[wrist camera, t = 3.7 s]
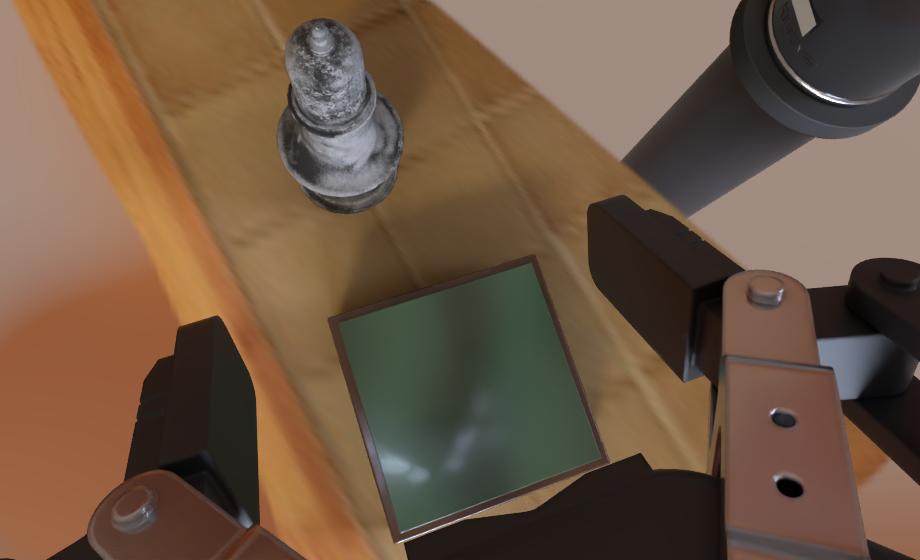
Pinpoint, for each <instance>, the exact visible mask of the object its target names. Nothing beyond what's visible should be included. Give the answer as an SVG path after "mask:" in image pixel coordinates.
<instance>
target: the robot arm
mask: <svg viewBox="0 0 920 560" xmlns="http://www.w3.org/2000/svg"><path fill="white" fill-rule="evenodd" d="M764 36H765V41H766V45H767V48H768V51H769V53H770V56H771V58H772V60H773V62H774V63H775V65H776V67H777V68H778V70H779V71H780V72H781V74H782V75H783V76H784V77H785V78H786V79H787V80H788V81H789V82H790V83H791V84H792V85H793V86H794V87H795V88H796V89H798V90H799V91H800V92H802V93H803V94H805V95H806V96H808V97H810V98H812V99H814V100H816V101H818V102H821V103H823V104H826V105H830V106H834V107H840V108H858V107H864V106H868V105H871V104H874V103H876V102H878V101H880V100H881V99H883V98H885V97H886V96H888V95H889V94H891V93H893V92H894V91H895V90H896V89H898V88H899V87H900V86H901V85H902V84H904V83H905V82H907V81H909V80H910V79H912V78H913V77H915V76H917V75H918V74H920V0H770V1H769V3H768V5H767V8H766V11H765V16H764ZM587 227H588V259H589V269H590V273H591V276H592V278H593V281H594V283H595V284H596V286H597V288H598V289H599V290H600V291H601V292H602V293H603V295H604V296H605V297H606V298H607V299H608V300H609V301H610V302H611V303H612V304H613V306H614V307H615V308H616V309H617V310H618V311H619V312H620V313H621V314H622V315H623V317H624V318H625V319H626V320H627V321H628V322H629V323H630V324H631V325H632V326H633V328H634V329H635V330H636V331H637V332H638V333H639V334H640V335H641V336H642V337H643V339H644V340H645V341H646V342H647V343H648V344H649V345H650V346H651V347H652V348H653V350H654V351H655V352H656V353H657V354H658V355H659V356H660V357H661V358H662V359H663V361H664V362H665V363H666V364H667V365H668V366H669V367H670V368H671V369H672V370H673V372H674V373H675V374H676V375H677V376H678V377H679V378H680V379H681V380H682V381H683V383H685V382H687V381H690V380H693V379H696V378H698V377H701V376H704V375H705V376H706V377H707V378H708V379H709V380H710V381H711V383H710V391H709V412H708V442H707V468H706V474H705V473H700V472H695V471H689V470H679V469H657V470H653V469H652V468H651V467H650V465H649V464H648V462H647V461H646V460H645V458H644V457H643V455H642V454H641V453H639V454H636V455H634V456H631V457H628V458H626V459H623V460H621V461H618V462H615V463H613V464H610V465H607V466H605V467H602V468H599V469H597V470H594V471H592V472H589V473H586V474H584V475H583V476H582V477H580V478H579V479H577V480H576V481H575V482H573V483H572V484H570V485H569V486H568V487H566V488H565V489H563V490H562V491H561V492H559V493H558V494H556V495H555V496H553V497H552V498H551V499H549V500H548V501H546V502H545V503H544V504H542V505H541V506H539V507H538V508H536V509H534V510H531V511H527V512H521V513H513V514H505V515H497V516H489V517H482V518H474V519H466V520H463V521H460V522H458V523H455V524H452V525H450V526H447V527H444V528H442V529H439V530H436V531H434V532H431V533H429V534H426V535H423V536H421V537H418V538H415V539H413V540H410V541H408V542H405V543H404V546H405V550H406V554H407V558H408V560H915V559H913V558H910V557H908V556H906V555H903V554H901V553H899V552H896V551H894V550H891V549H889V548H887V547H884V546H882V545H880V544H877V543H875V542H872V541H870V540H868V539H866V535H865V530H864V524H863V519H862V514H861V509H860V503H859V498H858V492H857V487H856V481H855V476H854V471H853V465H852V460H851V455H850V449H849V444H848V438H847V433H846V428H845V422H844V417H843V414H844V415H845V416H846V417H847V418H848V419H849V420H851V421H852V422H853V423H854V424H855V425H856V426H857V427H858V428H859V429H860V430H861V431H862V432H863V433H864V434H865V435H866V436H867V437H869V438H870V439H871V440H872V441H873V442H874V443H875V444H876V445H877V446H878V447H879V448H880V449H881V450H882V451H883V452H884V453H885V454H887V455H888V456H889V457H890V458H891V459H892V460H893V461H894V462H895V463H896V464H897V465H898V466H899V467H900V468H901V469H902V470H903V471H905V472H906V473H907V474H908V475H909V476H910V477H911V478H912V479H913V480H914V481H915V482H916V483H917V484H918V485H920V380H919V379H918V378H916V377H915V376H914V372H915V370H916V367H917V365H918V363H919V362H920V264H918V263H915V262H911V261H907V260H903V259H896V258H874V259H869V260H865V261H863V262H860V263H859V264H857V265H856V266H855V267H854V268H853V270H852V272H851V276H850V279H849V282H848V285H845V286H833V287H822V288H811V289H806V288H805V287H804V286H803V284H801V283H800V282H799V281H797V280H796V279H794V278H792V277H790V276H788V275H785V274H782V273H779V272H775V271H769V270H748V271H745V270H744V269H743V268H741V267H740V266H739V265H737V264H736V263H734V262H733V261H732V260H730V259H729V258H728V257H726V256H725V255H724V254H722V253H721V252H720V251H718V250H717V249H716V248H714V247H713V246H712V245H710V244H709V243H708V242H706V241H705V240H704V241H702V239H701V237H700V236H698V235H697V234H695V233H694V232H693V231H689V228H687V227H686V226H685V225H683V224H682V223H681V222H679V221H678V220H677V219H675V218H674V217H672V216H669V215H667V214H664V213H661V212H658V211H655V210H652V209H649V210H646V211H645V210H644V209H642V208H641V207H640V206H638V205H637V204H636V203H635V202H633V201H632V200H631V199H629V198H628V197H627V196H625V195H619V196H616V197H612V198H609V199H606V200H602V201H599V202H596V203H593V204H590V205H589V207H588V211H587ZM140 403H141V405H139V408H138V413H137V422H136V423H135V428H134V433H133V438H132V443H131V448H130V453H129V458H128V463H127V468H126V473H125V478H124V482H123V483H122V484H120V485H119V486H118V487H116V488H115V489H114V490H113V491H111V492H110V493H109V494H108V495H107V496H106V497H105V498H104V499H103V500H102V501H101V503H100V504H99V505H98V507H97V508H96V509H95V511H94V513H93V515H92V517H91V519H90V521H89V524H88V529H87V534H86V535H85V536H84V537H82V538H81V539H79V540H78V541H76V542H75V543H73V544H71V545H70V546H68V547H67V548H65V549H63V550H62V551H60V552H58V553H57V554H55V555H53V556H52V557H50V558H48V559H47V560H307V559H305V558H304V557H302V556H301V555H300V554H298V553H297V552H296V551H294V550H293V549H292V548H290V547H289V546H288V545H286V544H285V543H284V542H282V541H281V540H279V539H278V538H277V537H275V536H274V535H273V534H271V533H270V532H269V531H267V530H266V529H264V528H262V527H261V526H260V512H259V480H258V449H257V417H256V396H255V390H254V386H253V383H252V380H251V377H250V374H249V372H248V370H247V367H246V366H245V364H244V362H243V360H242V358H241V356H240V354H239V352H238V350H237V348H236V346H235V344H234V342H233V340H232V338H231V336H230V334H229V332H228V330H227V328H226V326H225V324H224V322H223V321H222V319H221V318H220V317H219V316H213V317H210V318H207V319H203V320H200V321H197V322H193V323H190V324H187V325H183V326H180V327H179V328H178V330H177V336H176V343H175V350H174V355H171V356H168V357H165V358H162V359H159V360H158V361H157V362H156V364H155V365H154V367H153V368H152V370H151V371H150V373H149V374H148V375H147V377H146V378H145V380H144V382H143V387H142V393H141V397H140ZM0 560H14V559H8V558H6V559H0Z"/></svg>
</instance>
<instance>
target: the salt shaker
mask: <svg viewBox="0 0 920 560" xmlns="http://www.w3.org/2000/svg"><path fill="white" fill-rule="evenodd" d="M284 58H285V66H286V69H287V72H288V75H289V78H290V84H289V88H288V94H287V97H288V105H287V106H286V108H285V110H284V112H283V114H282V116H281V118H280V120H279V125H278V131H277V143H278V151H279V154H280V156H281V158H282V161H283V163H284V165H285V167H286V169H287V170H288V171H289V172H290V173H291V175H292V176H293V177H294V178H295V180H297V181H298V182H299V183H300V185H301V187H302V189H303V191H304V192H305V193H306V195H307V196H308V197H309V198H310V199H311V200H312V201H313V202H315V203H316V204H317V205H319V206H320V207H322V208H324V209H327V210H329V211H332V212H335V213H344V214H351V213H358V212H363V211H365V210H368V209H370V208H372V207H374V206H376V205H377V204H378V203H380V202H381V201H382V200H384V198H385V197H386V196H387V195H388V193H389V192H390V191H391V190H392V187H393V185H394V182H395V180H396V176H397V168H398V162H399V160H400V157H401V155H402V151H403V142H404V134H403V128H402V122H401V120H400V118H399V116H398V114H397V111H396V109H395V108H394V107H393V105H392V104H391V103H390V102H389V101H388V99H387V98H386V97H385V96H384V95H382V94H381V93H379V92H378V91H376V89H375V84H374V82H373V80H372V78H371V76H370V74H369V73H368V72H367V71H366V70H365V68H364V60H363V52H362V48H361V45H360V43H359V41H358V39H357V37H356V35H355V34H354V33H353V32H352V31H351V29H349V28H348V27H347V26H345V25H344V24H342V23H340V22H338V21H335V20H331V19H324V18H322V19H314V20H311V21H308V22H305V23H303V24H302V25H300V26H299V27H297V28H296V29H295V30H294V31H293V32H292V34H291V35H290V37H289V39H288V41H287V43H286V47H285V55H284Z"/></svg>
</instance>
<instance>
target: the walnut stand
mask: <svg viewBox="0 0 920 560" xmlns="http://www.w3.org/2000/svg"><path fill="white" fill-rule="evenodd" d="M328 323H329V327H330V330H331V333H332V337H333V340H334V344H335V347H336V350H337V354H338V357H339V360H340V364H341V367H342V371H343V374H344V377H345V381H346V384H347V387H348V391H349V394H350V397H351V401H352V404H353V408H354V411H355V414H356V418H357V421H358V424H359V428H360V431H361V434H362V438H363V441H364V445H365V448H366V451H367V455H368V458H369V461H370V465H371V468H372V472H373V475H374V478H375V482H376V485H377V488H378V492H379V495H380V498H381V502H382V505H383V509H384V512H385V515H386V519H387V522H388V525H389V529H390V532H391V535H392V539H393V542H394V544H397V543H400V542H403V541H405V540H408V539H411V538H413V537H416V536H419V535H421V534H424V533H427V532H429V531H432V530H435V529H437V528H440V527H442V526H445V525H448V524H450V523H453V522H456V521H458V520H461V519H464V518H466V517H469V516H472V515H474V514H477V513H480V512H482V511H485V510H487V509H490V508H493V507H495V506H498V505H501V504H503V503H506V502H509V501H511V500H514V499H517V498H519V497H522V496H525V495H527V494H530V493H532V492H535V491H538V490H540V489H543V488H546V487H548V486H551V485H554V484H556V483H559V482H562V481H564V480H567V479H570V478H572V477H575V476H577V475H580V474H583V473H585V472H588V471H591V470H593V469H596V468H599V467H601V466H604V465H607V464H609V463H610V460H609V457H608V455H607V452H606V449H605V446H604V444H603V441H602V438H601V435H600V432H599V430H598V427H597V424H596V421H595V419H594V416H593V413H592V410H591V408H590V405H589V402H588V399H587V397H586V394H585V391H584V388H583V385H582V383H581V380H580V377H579V374H578V372H577V369H576V366H575V363H574V361H573V358H572V355H571V352H570V350H569V347H568V344H567V341H566V338H565V336H564V333H563V330H562V327H561V325H560V322H559V319H558V316H557V314H556V311H555V308H554V305H553V302H552V300H551V297H550V294H549V291H548V289H547V286H546V283H545V280H544V278H543V275H542V272H541V269H540V267H539V264H538V261H537V258H536V256H535V255H534V254H533V255H530V256H526V257H523V258H520V259H517V260H514V261H510V262H507V263H504V264H501V265H497V266H494V267H491V268H488V269H484V270H481V271H478V272H475V273H471V274H468V275H465V276H462V277H458V278H455V279H452V280H449V281H446V282H442V283H439V284H436V285H433V286H429V287H426V288H423V289H420V290H416V291H413V292H410V293H407V294H403V295H400V296H397V297H394V298H391V299H387V300H384V301H381V302H378V303H374V304H371V305H368V306H365V307H361V308H358V309H355V310H352V311H348V312H345V313H342V314H339V315H335V316H332V317H329V318H328Z"/></svg>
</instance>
